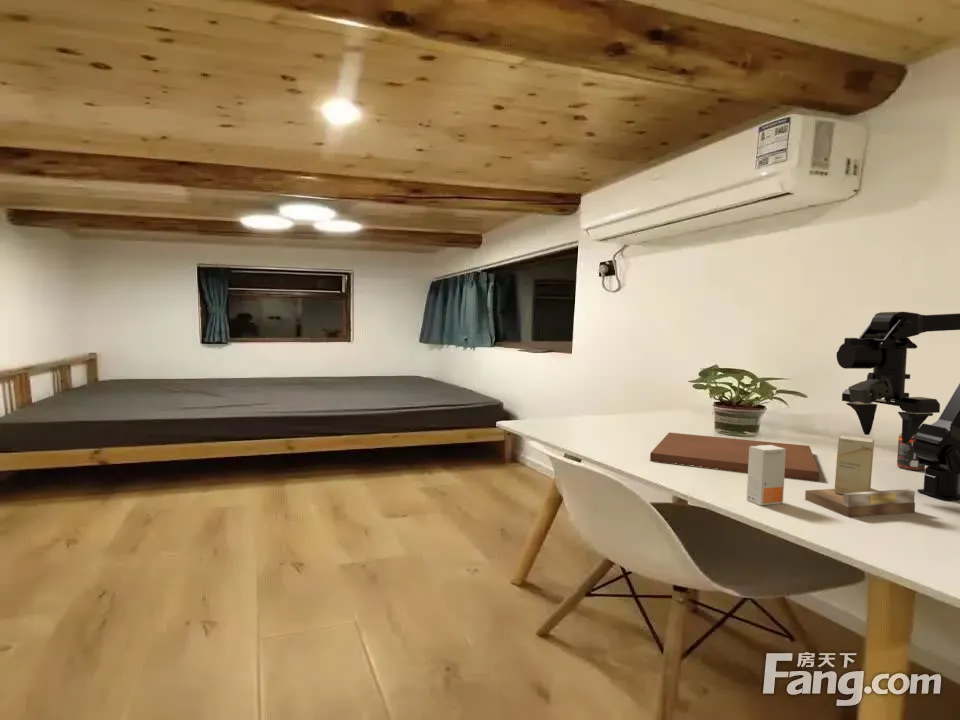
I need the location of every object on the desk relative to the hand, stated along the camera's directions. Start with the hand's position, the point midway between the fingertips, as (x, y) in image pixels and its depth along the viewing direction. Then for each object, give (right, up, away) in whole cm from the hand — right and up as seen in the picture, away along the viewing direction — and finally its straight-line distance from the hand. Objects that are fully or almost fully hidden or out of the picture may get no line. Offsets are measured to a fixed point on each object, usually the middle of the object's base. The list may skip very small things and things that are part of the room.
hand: (885, 438), depth 121 cm
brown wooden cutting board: (-17, -11, +36) cm, 42 cm away
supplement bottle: (+26, -12, +25) cm, 38 cm away
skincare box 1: (-29, -13, -4) cm, 32 cm away
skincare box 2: (-10, -11, -4) cm, 16 cm away
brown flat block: (-10, -13, -6) cm, 18 cm away
